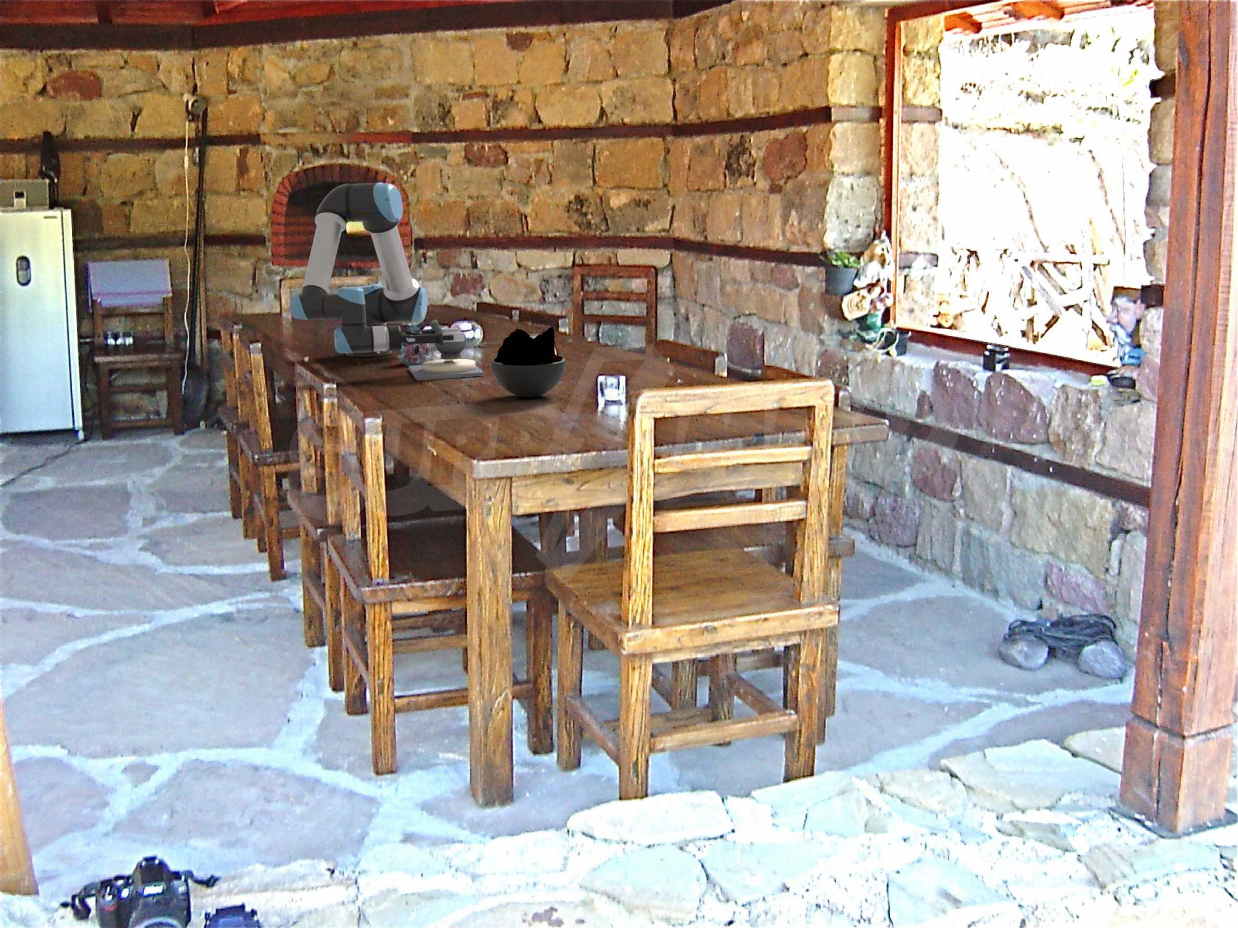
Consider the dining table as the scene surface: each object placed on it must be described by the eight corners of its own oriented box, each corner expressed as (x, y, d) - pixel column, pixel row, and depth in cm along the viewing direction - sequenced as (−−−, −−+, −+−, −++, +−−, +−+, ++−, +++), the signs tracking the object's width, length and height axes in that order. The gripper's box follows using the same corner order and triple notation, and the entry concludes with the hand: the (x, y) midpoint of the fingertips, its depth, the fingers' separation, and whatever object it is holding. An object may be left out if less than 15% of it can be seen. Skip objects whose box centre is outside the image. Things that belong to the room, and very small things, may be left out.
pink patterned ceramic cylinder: (427, 359, 413) (405, 329, 413) (403, 379, 417) (381, 349, 418) (443, 354, 423) (422, 324, 424) (420, 374, 428) (399, 344, 428)
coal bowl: (485, 403, 349) (482, 332, 345) (501, 390, 368) (499, 323, 364) (559, 403, 346) (557, 332, 342) (572, 390, 366) (570, 323, 362)
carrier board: (408, 369, 409) (408, 357, 409) (472, 365, 414) (472, 354, 414) (416, 380, 389) (416, 367, 388) (483, 376, 394) (483, 363, 393)
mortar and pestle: (460, 355, 406) (458, 316, 404) (471, 358, 398) (470, 319, 396) (425, 358, 401) (423, 318, 398) (436, 361, 393) (434, 321, 390)
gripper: (384, 346, 405) (457, 342, 411) (391, 355, 384) (467, 351, 390) (383, 321, 404) (455, 318, 409) (390, 330, 382) (466, 326, 388)
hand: (461, 334), depth 399 cm, fingers closed on mortar and pestle, 10 cm apart
